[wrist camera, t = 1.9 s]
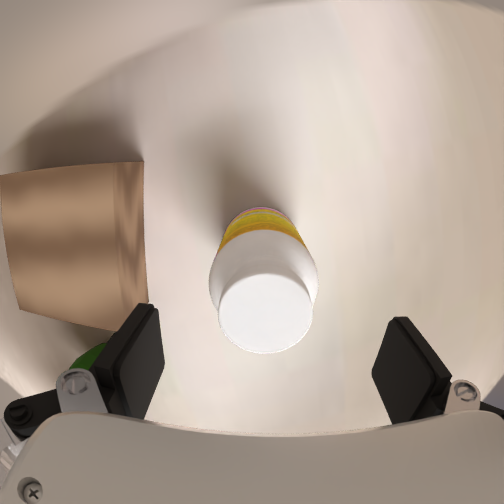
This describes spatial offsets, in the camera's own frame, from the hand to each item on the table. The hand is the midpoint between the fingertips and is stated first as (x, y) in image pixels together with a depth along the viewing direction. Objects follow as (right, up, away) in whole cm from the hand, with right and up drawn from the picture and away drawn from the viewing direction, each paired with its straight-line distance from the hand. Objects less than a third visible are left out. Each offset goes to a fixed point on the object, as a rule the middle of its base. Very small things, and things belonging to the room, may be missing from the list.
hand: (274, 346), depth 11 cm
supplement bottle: (0, +5, +15) cm, 16 cm away
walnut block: (-18, +6, +15) cm, 24 cm away
